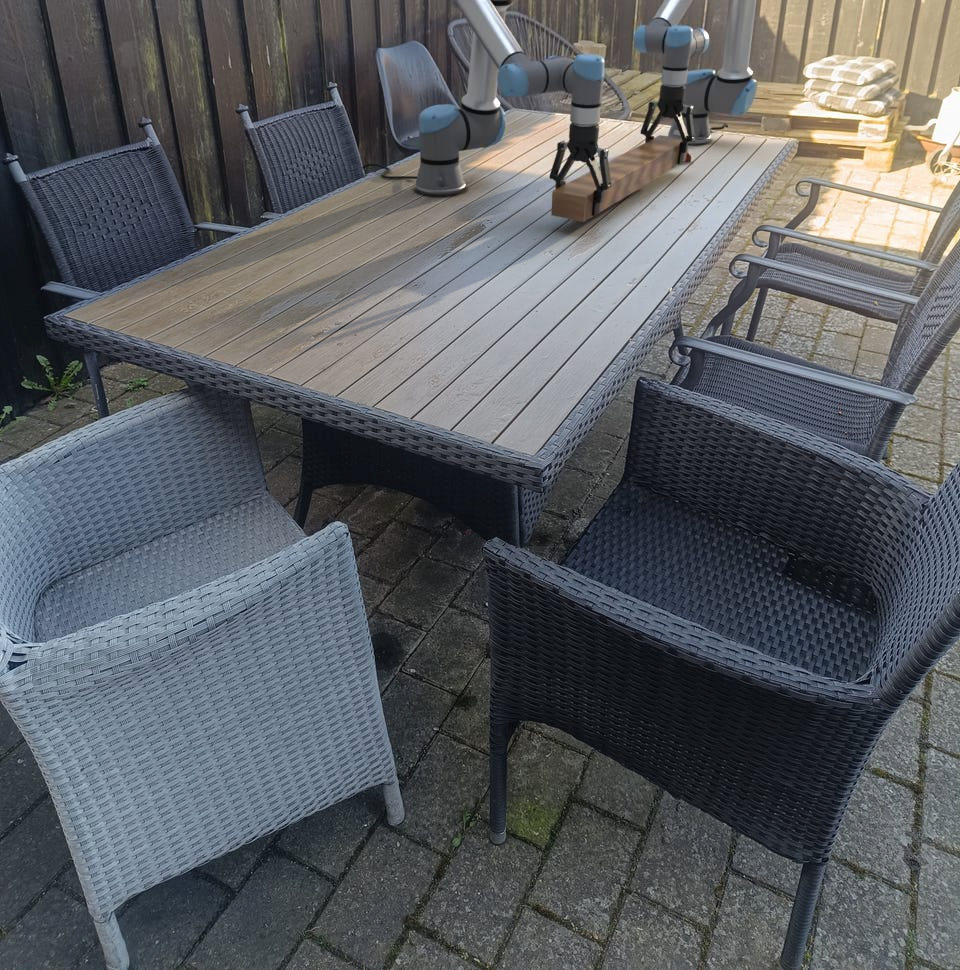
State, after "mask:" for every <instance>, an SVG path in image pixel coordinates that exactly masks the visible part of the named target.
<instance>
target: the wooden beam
mask: <svg viewBox="0 0 960 970" xmlns="http://www.w3.org/2000/svg"><path fill="white" fill-rule="evenodd" d="M680 142H682V138H676V137H669V136H668V135H661V134H659V135H657V136H656V137H654V139H652V140H650V141H648V142H646V143H645V142H644V143H642V144H640V145H638V146H636V147H634V148H633V149H631V150H629V151H626V152H624V153H623V154H621V155H619V156H617V157H615V158H613V159H610V160H608V164H609V171H610V178H611V185H612V186H611V187H610V188H609V189H607V190H604V196H603V201H602V202H601V203H600V206H599V213H601V212H603V211H605V210H606V209H608V208H610V207H611V206H613V205H615V204H616V203H618V202H620V201H621V200H623V199H624V198H626V197H628V196H629V195H631V194H633V193H634V192H636V191H638V190H640V189H641V188H643V187H644V186H646V185H647V184H648V185H649V183H651V182H653V181H655V180H656V179H658V178H659V177H661V176H663V175H664V174H666V173H668V172H669V171H671V170H673V169H675V168H676V167H678V166H679V164H677V162H678V154H679V146H680ZM686 155H687V152H686V153H684V156H683V162H684V161H686ZM598 168H599V171H600V174H601V169H600V166H598ZM601 176H602V175H601ZM596 189H597V188H596V186H595V183H594V180H593V178H592V175H591V172H590V171H588V172H585V174H581V176H579V177H576V178H575V179H573V180H571V181H569V182H566V184H565V185H563V186H561V187H559V188H557V189H553V190H552V191H551V197H552V198H551V210H550V212H551V213H550V216H553V217H558V218H562V219H567V220H572V221H577V222H581V223H584V222H586V221H588V220H589V219H591V218H593V217H594V216H592V207H593V196H594V190H596Z"/></svg>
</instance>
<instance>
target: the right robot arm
mask: <svg viewBox="0 0 960 970" xmlns="http://www.w3.org/2000/svg"><path fill="white" fill-rule="evenodd" d="M692 3H693V0H663V2H662V3H661V5H660V7H659V8H658V10H657V12H656V13H655V15H654V16H653V18H652V20H651V21H650V22H649V24H641V25H640V26H638V27H637V28H636V29H635V31H634V35H633V45H634V49H635V51H637V52H639V53H643V54H651V55H660V56H661V55H663V63H662V69H661V70H662V71H661V78H660V83H661V85H660V86H659V87H660V88H659V98H658V101H656V100H651V101H649V102H648V107H647V112H646V115H645V117H644V120H643V124H642V126H641V129H640V135H643V136H644V137H645V142H644V143H646V142H648V141H650V140H652V139H654V138H655V136H654V135H653V134H654V133H655V131H656V129H657V128H658V126H659V125H660V123H661V122H662V120H663V119H664V118H668V119H673V121H672V123H671V126H670V128H669V131H668V133H667V136H669V137H676V138H682V142H680V146H679V154H678V162H677V164H679V165H682V163H683V156H684V153H686V152H687V151H688V147H689V146H693V145H694V146H696V145H698V146H699V145H705V144H709V143H710V142H711V137H712V135H711V133H712V131H720V130H723V129H725V128H729V124H728V123H727V122H726V123H723V125H721V126H714V127H710V121H709V115H710V113H714V114H715V113H716V114H722V115H723V114H724V115H729V116H744V115H745V114H746V113H748V111H749V110H750V108H751V107H752V105H753V103H754V100H755V98H756V95H757V91H758V81H757V79H754V78H753V70H752V69H751V68H750V66H749V65H750V59H751V58H750V57H751V49H752V40H753V31H754V24H755V15H756V9H757V8H756V6H757V0H728V7H727V14H726V15H727V17H726V26H725V37H724V47H723V58H722V67H721V68H720V69H719V70H718V71H717V73H716V70H715V69H711V68H707V69H706V68H702V69H694V70H689V64H690V60H691V59H693V58H697V57H699V56H700V55H702V54H704V53H705V52H706V51H707V49H708V47H709V45H710V36H709V33H708V32H707V31H706V30H705V29H704V28H701V27H694V28H692V26H689V25H679V23H680V22H681V20H682V18H683V17H684V15H685V14H686V12H687V11H688V9H689V8H690V5H691V4H692ZM657 108H658V110H659V112H658V114H657V115H656V118H655V119H654V120H653V122H652V124H651V121H652V118H653V116H654V113H655V110H656V109H657ZM650 124H651V126H650ZM683 164H684V163H683ZM679 165H678V166H679Z"/></svg>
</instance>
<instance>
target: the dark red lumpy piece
mask: <svg viewBox="0 0 960 970" xmlns="http://www.w3.org/2000/svg"><path fill="white" fill-rule="evenodd" d="M691 162H692V155H691V153H690V151H689V150H687V155H686V161H684V162H683V164H684V163H691Z"/></svg>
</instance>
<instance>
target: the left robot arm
mask: <svg viewBox="0 0 960 970" xmlns="http://www.w3.org/2000/svg"><path fill="white" fill-rule="evenodd" d="M448 1H449V3H450V4H451V5H452V7H453V8H455V9H458V10H459V11H460V12H461V14H462V16H463V17H464V18H465V21H466V22H467V23H468V25H469V26H470V28H471V29H472V37H471V39H472V40H471V48H470V60H469V67H468V69H469V70H468V78H467V79H468V81H467V92H466V94H465V95H464V96H462V98H461V100H460V108H458V106H457V105H455V104H453V103H452V104H449V103H444V104H436V105H435V104H434V105H431V106H429V107H426V108H425V109H423V110H422V111H421V112H420V114H419V116H418V118H419V119H418V136H419V138H418V139H419V157H420V158H419V159H420V161H419V162H420V164H419V168H418V172H417V175H416V176H415V175H394V176H393V175H391V176H390V175H387V174H388V173H390V171H391V169H390V168H389V167H388V166H385V165H383V164H380V163H379V164H378V163H373V162H371V163H365V164H364V165H363V166H362V167H361V169H364V170H365V169H366V168H368V167H378V168H382V169H384V170H385V171H383V172H382V173H380V177H381V178H383V179H387V180H390V179H391V180H400V179H401V180H402V179H403V180H404V179H405V180H415V183H414V184H415V185H414V186H415V192H417V193H418V194H420V195H424V196H430V197H450V196H455V195H459V194H461V193H463V192H464V191H466V181H465V179H464V176H463V172H462V169H461V165H460V152H462V151H469V150H475V149H476V150H477V149H481V148H482V149H486V148H489V147H492V146H495V145H497V144H498V143H500V142H501V141H502V139H503V137H504V134H505V133H506V127H507V119H506V118H505V116H506V114H505V113H506V112H505V110H504V108H503V107H502V106H501V102H500V100H499V99H498V97H497V91H498V90H499V92H500V93H501V95H503V96H504V97H506V98H522V97H526V96H527V97H528V96H532V95H540V94H541V95H543V94H549V93H557V92H564V93H566V94H570V95H571V103H570V115H569V121H570V122H571V123H570V124H569V131H568V141H565V140H561V141H559V142H558V143H557V144H556V149H557V150H556V154H555V156H554V160H553V164H552V166H551V169H550V172H549V176H548V177H549V179H550V180H553V181H554V183H555V187H554V188H555V189H557V188H559V187H561V186H563V185H565V184H567V181H565V177H567V174H568V172H569V171H570V169H571V168H572V166H573V165H574V163H575V162H582V163H583V164H586V166H587V167H588V169H589V172H591V175H592V178H593V180H594V183H595V186H596V188H597V189H596V190H594V196H593V207H592V216H593V217H595V216H597V215H598V214H600V212H599V206H600V203H601V202H602V201H603V196H604V190H607V189H609V188H610V187H611V186H612V185H611V178H610V171H609V164H608V162H609V151H610V150H609V148H608V147H606V148H602V147H599V143H598V141H599V136H600V135H599V132H600V125H599V123H600V122H601V110H602V99H603V90H604V79H605V59H604V57H603V56H601V55H599V54H592V53H583V54H582V53H581V54H577V55H575V57H574V59H572V58H568V57H566V56H563V55H550V56H548V57H546V59H543V60H533V61H532V60H530V59H529V57H528V56H527V54H526V53H525V52H524V50H523V49H522V47H521V46H520V44H519V42H518V41H517V39H516V38H515V37H514V35H513V33H512V32H511V30H510V29H509V27H508V25H507V24H506V16H507V15H506V13H507V10H508V8H510V7H511V6H512V5H513V3H514V2H513V1H514V0H448ZM567 150H568V151H569V153H570V154H569V155H568V157H567V158H566V161H565V163H563V160H564V157H565V153H566V151H567ZM596 154H597V157H598V159H599V165H598V163H597V158H596ZM562 163H563V166H562ZM561 166H562V168H561ZM598 167H600V169H601V174H600V171H599V168H598ZM601 175H602V176H601ZM555 189H554V190H555Z"/></svg>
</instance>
